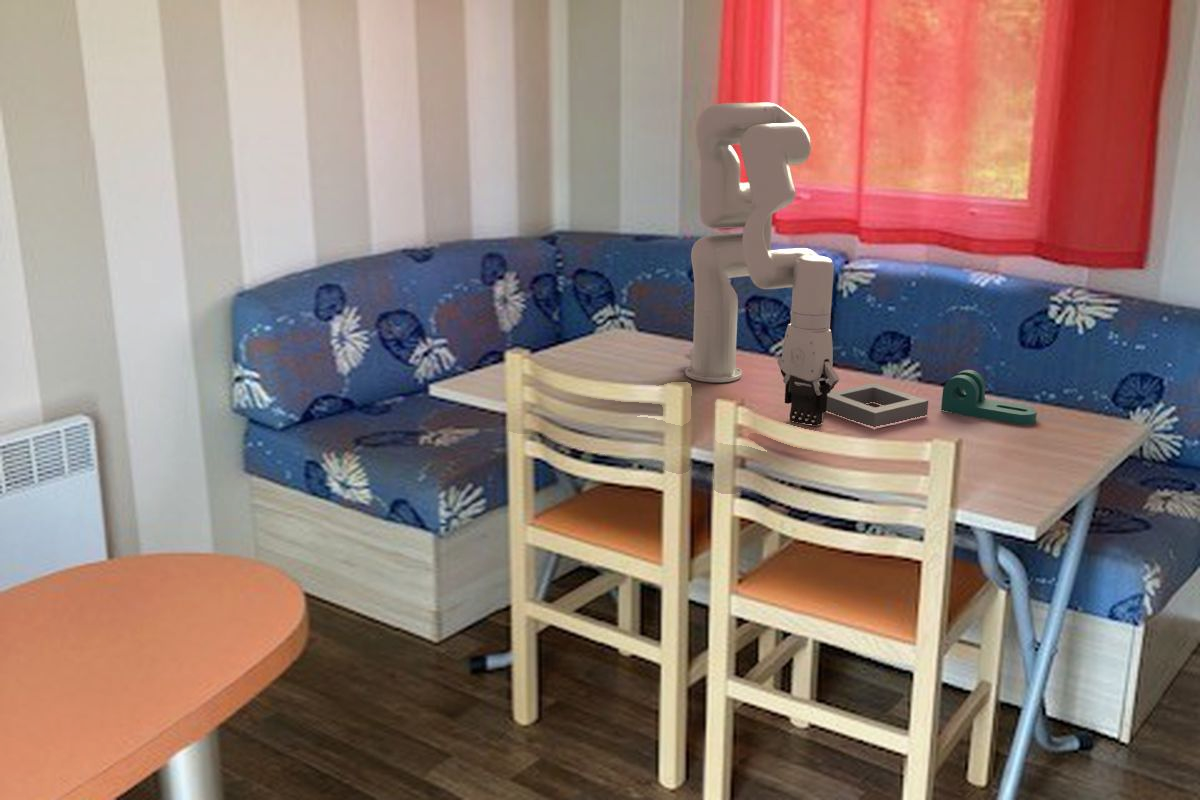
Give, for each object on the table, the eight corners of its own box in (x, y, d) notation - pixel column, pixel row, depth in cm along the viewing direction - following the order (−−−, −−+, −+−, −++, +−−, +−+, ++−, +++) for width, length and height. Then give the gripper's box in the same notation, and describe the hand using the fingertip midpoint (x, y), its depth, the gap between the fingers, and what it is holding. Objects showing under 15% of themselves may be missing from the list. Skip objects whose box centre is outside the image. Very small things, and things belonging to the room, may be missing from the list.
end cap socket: (820, 410, 251) (821, 393, 250) (872, 398, 259) (873, 382, 258) (873, 430, 239) (875, 413, 238) (926, 417, 247) (928, 400, 246)
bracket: (940, 411, 251) (944, 375, 249) (950, 403, 257) (954, 367, 254) (1030, 427, 242) (1035, 389, 240) (1039, 418, 247) (1043, 381, 245)
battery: (784, 422, 243) (787, 367, 240) (793, 417, 246) (796, 362, 243) (816, 429, 239) (819, 373, 236) (825, 424, 242) (828, 368, 239)
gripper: (765, 313, 241) (761, 399, 247) (827, 332, 228) (822, 422, 233) (794, 309, 245) (789, 393, 251) (857, 327, 232) (850, 416, 237)
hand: (805, 407), depth 242 cm, fingers closed on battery, 7 cm apart
